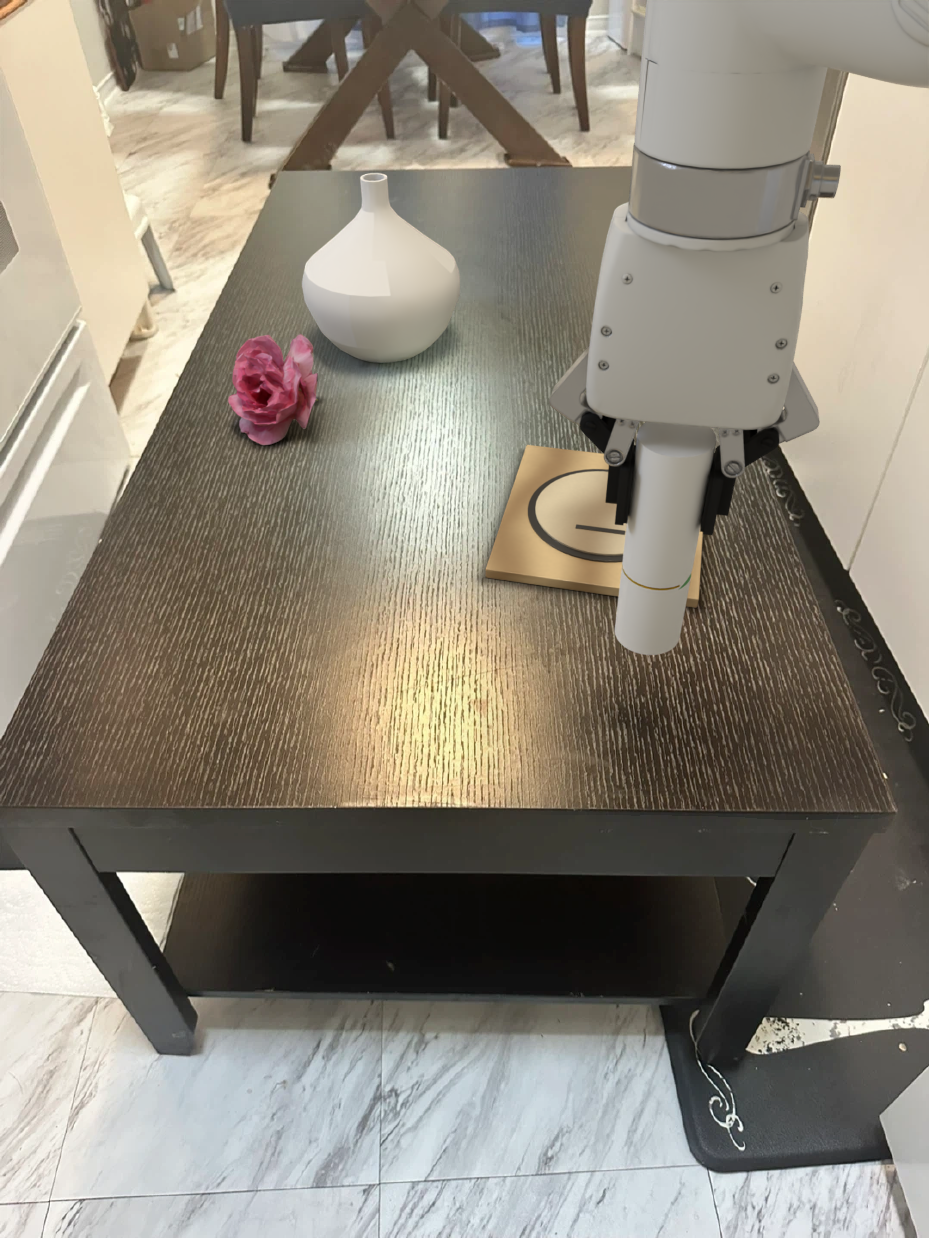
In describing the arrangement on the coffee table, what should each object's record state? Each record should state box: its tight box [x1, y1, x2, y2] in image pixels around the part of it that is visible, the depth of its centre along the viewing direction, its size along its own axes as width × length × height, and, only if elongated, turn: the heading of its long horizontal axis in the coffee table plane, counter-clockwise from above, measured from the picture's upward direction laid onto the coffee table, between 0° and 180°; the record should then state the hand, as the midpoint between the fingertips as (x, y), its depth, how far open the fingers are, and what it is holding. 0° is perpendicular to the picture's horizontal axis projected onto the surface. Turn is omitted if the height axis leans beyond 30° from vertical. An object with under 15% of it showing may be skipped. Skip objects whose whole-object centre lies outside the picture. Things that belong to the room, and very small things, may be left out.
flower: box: [227, 333, 319, 446], centre depth 93 cm, size 11×10×10 cm
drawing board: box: [485, 444, 704, 609], centre depth 82 cm, size 18×20×2 cm
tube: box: [614, 422, 717, 656], centre depth 54 cm, size 4×4×15 cm
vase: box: [301, 172, 461, 364], centre depth 102 cm, size 18×18×19 cm
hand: (664, 513), depth 52 cm, fingers closed on tube, 4 cm apart
